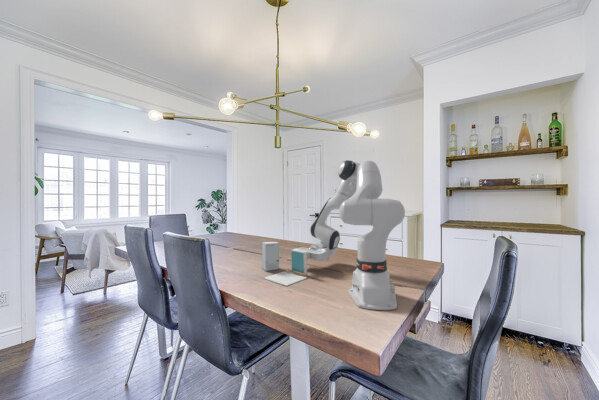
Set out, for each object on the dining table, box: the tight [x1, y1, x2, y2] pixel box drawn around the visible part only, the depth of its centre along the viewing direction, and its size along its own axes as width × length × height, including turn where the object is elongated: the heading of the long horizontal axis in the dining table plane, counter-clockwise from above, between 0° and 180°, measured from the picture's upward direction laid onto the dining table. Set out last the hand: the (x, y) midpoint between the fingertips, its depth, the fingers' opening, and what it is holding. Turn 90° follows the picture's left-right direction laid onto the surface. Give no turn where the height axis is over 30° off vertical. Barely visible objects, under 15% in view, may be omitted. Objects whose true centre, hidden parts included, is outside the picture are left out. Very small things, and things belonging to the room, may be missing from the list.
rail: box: [285, 268, 309, 278], centre depth 128 cm, size 2×14×2 cm, turn 47°
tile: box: [290, 248, 308, 274], centre depth 129 cm, size 2×9×12 cm, turn 47°
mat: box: [263, 270, 308, 287], centre depth 122 cm, size 14×16×1 cm
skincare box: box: [261, 241, 280, 272], centre depth 139 cm, size 8×6×15 cm
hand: (300, 256), depth 130 cm, fingers closed
